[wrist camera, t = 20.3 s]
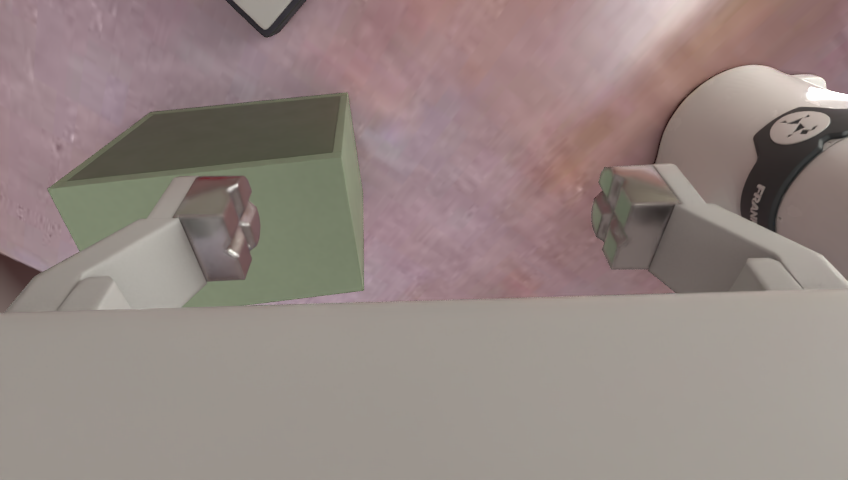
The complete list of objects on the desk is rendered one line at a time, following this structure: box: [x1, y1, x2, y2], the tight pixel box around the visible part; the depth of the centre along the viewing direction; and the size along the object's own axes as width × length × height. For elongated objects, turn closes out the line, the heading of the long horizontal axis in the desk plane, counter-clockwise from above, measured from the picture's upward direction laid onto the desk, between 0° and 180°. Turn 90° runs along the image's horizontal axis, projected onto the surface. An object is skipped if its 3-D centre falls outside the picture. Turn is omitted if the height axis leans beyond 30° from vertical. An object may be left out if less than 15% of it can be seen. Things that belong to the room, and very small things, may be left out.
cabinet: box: [48, 92, 364, 307], centre depth 38 cm, size 10×17×16 cm, turn 94°
